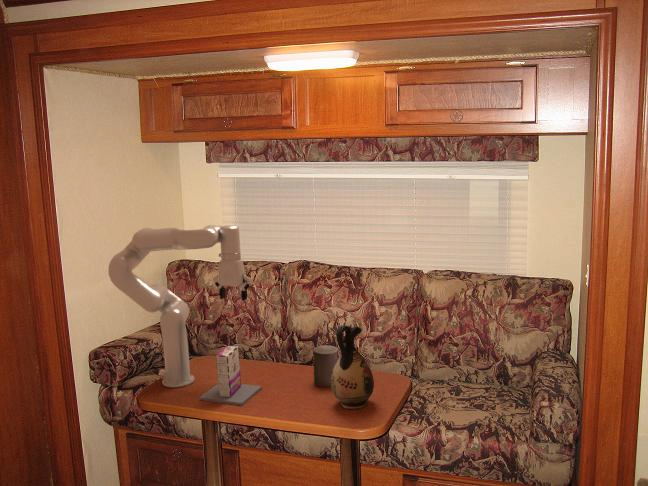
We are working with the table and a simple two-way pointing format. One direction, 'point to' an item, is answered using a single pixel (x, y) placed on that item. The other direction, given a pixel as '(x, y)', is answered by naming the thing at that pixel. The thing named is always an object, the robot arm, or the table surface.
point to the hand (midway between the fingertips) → (233, 299)
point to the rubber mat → (237, 399)
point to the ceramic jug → (351, 372)
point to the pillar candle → (324, 364)
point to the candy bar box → (228, 371)
